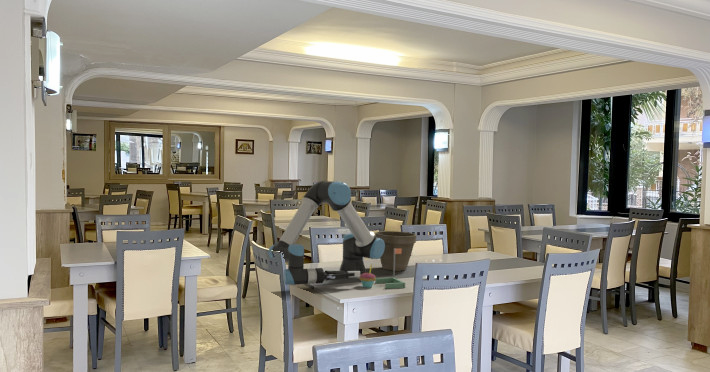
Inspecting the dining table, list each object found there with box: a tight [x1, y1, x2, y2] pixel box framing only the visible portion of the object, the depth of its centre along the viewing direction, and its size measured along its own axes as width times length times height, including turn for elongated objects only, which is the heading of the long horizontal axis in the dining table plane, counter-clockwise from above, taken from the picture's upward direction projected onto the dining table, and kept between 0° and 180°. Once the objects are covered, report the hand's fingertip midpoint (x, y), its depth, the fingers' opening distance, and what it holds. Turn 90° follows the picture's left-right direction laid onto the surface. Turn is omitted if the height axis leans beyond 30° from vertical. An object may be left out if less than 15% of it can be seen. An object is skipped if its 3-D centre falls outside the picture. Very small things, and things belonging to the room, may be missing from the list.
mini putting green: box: [374, 248, 406, 290], centre depth 292 cm, size 15×16×18 cm
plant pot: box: [374, 230, 417, 272], centre depth 339 cm, size 25×25×22 cm
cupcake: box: [358, 263, 377, 288], centre depth 287 cm, size 9×8×12 cm
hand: (359, 273), depth 285 cm, fingers closed
